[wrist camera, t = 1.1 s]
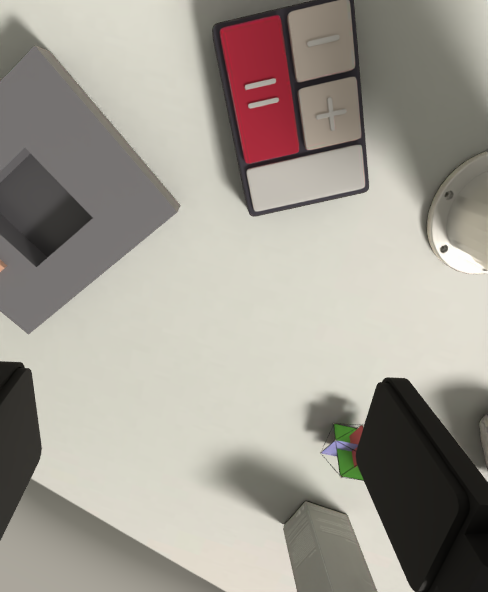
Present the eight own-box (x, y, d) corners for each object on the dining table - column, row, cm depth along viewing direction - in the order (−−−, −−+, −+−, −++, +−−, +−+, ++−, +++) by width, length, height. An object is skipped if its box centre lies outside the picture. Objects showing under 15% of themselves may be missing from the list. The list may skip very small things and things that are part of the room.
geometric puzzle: (356, 477, 52) (390, 495, 44) (309, 469, 51) (337, 486, 43) (362, 423, 54) (397, 431, 46) (318, 414, 52) (346, 421, 45)
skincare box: (281, 524, 58) (302, 657, 44) (308, 495, 56) (339, 625, 41) (326, 540, 60) (360, 671, 46) (354, 512, 58) (398, 641, 44)
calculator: (356, -14, 28) (373, 192, 34) (340, 5, 32) (357, 187, 38) (210, 20, 29) (250, 219, 34) (212, 35, 33) (247, 211, 38)
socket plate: (50, 51, 32) (31, 43, 28) (180, 205, 38) (176, 213, 34) (-97, 203, 36) (-128, 211, 33) (40, 320, 42) (25, 337, 38)
